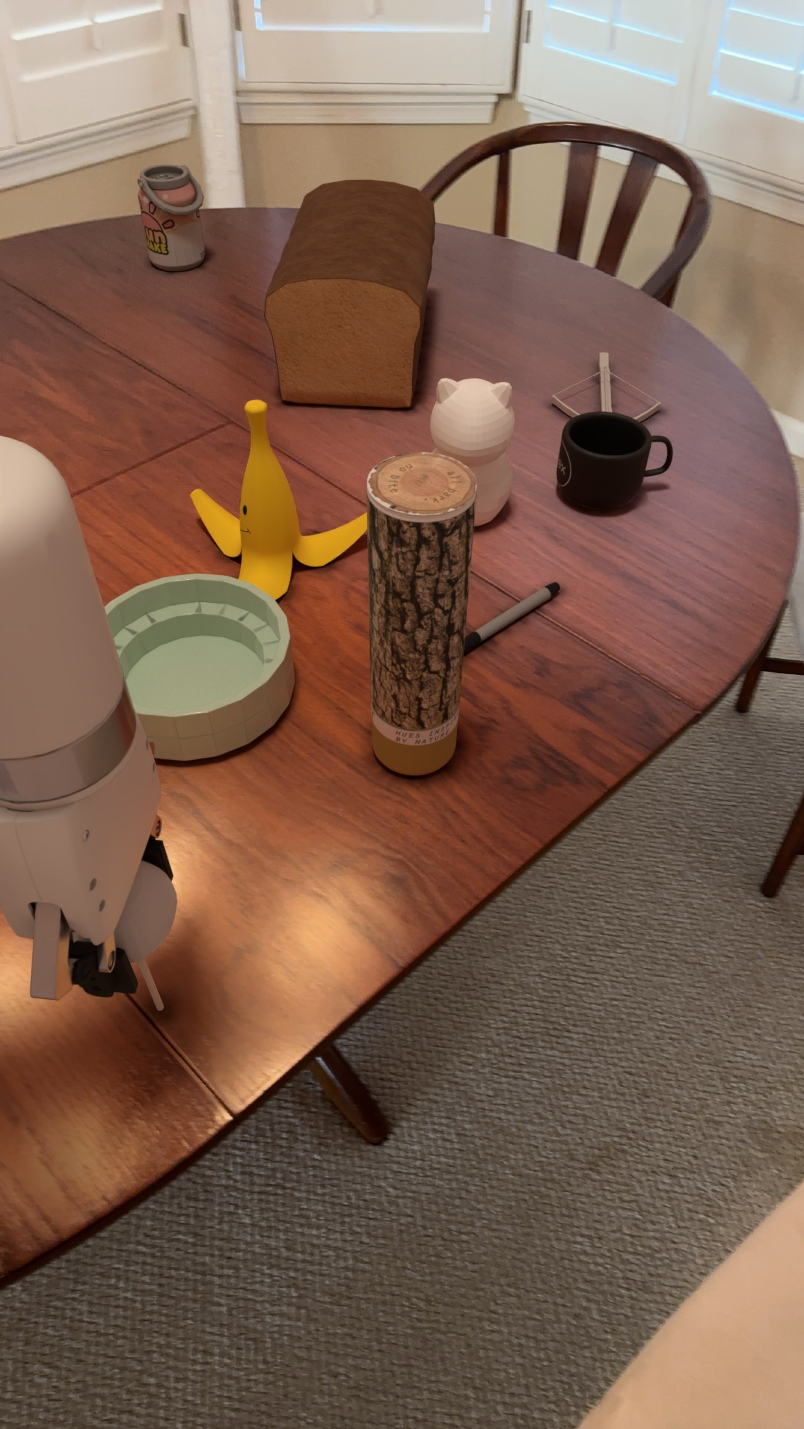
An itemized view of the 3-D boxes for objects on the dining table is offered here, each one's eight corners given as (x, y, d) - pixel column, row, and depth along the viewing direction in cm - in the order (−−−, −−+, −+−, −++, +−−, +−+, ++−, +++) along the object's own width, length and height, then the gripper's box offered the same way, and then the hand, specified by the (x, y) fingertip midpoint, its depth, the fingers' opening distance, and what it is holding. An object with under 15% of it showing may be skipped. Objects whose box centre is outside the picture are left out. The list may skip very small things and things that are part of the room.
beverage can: (222, 263, 139) (211, 173, 130) (176, 280, 135) (161, 189, 126) (183, 245, 143) (170, 157, 134) (138, 261, 139) (121, 172, 130)
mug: (564, 520, 97) (574, 460, 92) (545, 471, 103) (553, 412, 98) (677, 514, 98) (693, 453, 93) (652, 465, 104) (666, 406, 99)
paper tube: (471, 737, 77) (497, 473, 58) (427, 793, 73) (441, 529, 55) (400, 704, 79) (404, 440, 61) (355, 756, 75) (344, 491, 57)
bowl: (68, 756, 75) (47, 705, 71) (131, 618, 86) (117, 566, 82) (272, 776, 74) (265, 725, 70) (310, 633, 85) (306, 581, 81)
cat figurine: (418, 536, 95) (422, 399, 84) (429, 467, 103) (434, 334, 92) (507, 543, 94) (523, 406, 83) (511, 473, 103) (526, 340, 92)
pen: (561, 594, 89) (562, 584, 88) (434, 676, 82) (434, 665, 81) (550, 588, 90) (552, 577, 89) (423, 668, 82) (424, 657, 81)
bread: (435, 300, 131) (439, 173, 119) (422, 412, 111) (426, 273, 99) (305, 295, 132) (297, 168, 120) (269, 405, 112) (255, 266, 100)
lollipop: (131, 1070, 58) (70, 952, 47) (98, 994, 62) (34, 867, 50) (223, 1020, 60) (185, 896, 49) (186, 949, 64) (143, 818, 53)
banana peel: (237, 636, 84) (210, 475, 72) (193, 517, 96) (164, 362, 84) (409, 596, 88) (413, 437, 76) (347, 486, 100) (341, 333, 88)
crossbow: (660, 441, 109) (664, 426, 107) (550, 434, 109) (552, 418, 108) (652, 366, 119) (656, 350, 117) (551, 359, 119) (553, 344, 118)
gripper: (34, 584, 47) (113, 804, 60) (-140, 883, 35) (6, 1073, 48) (183, 597, 46) (229, 815, 59) (56, 904, 34) (149, 1090, 48)
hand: (128, 929), depth 54 cm, fingers open, 6 cm apart
